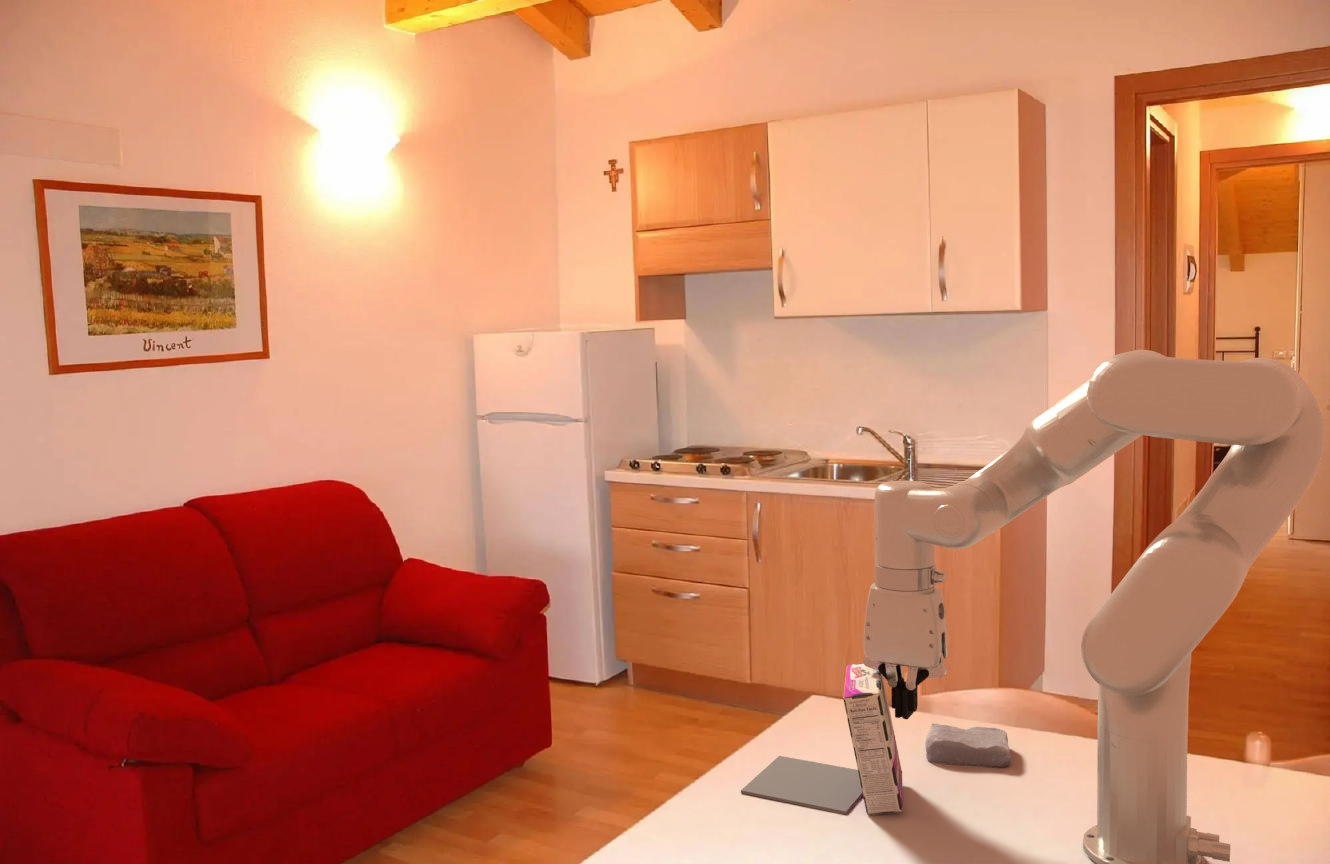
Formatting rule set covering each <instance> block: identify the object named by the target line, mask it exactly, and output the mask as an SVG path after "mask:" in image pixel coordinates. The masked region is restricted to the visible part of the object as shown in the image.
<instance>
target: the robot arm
mask: <svg viewBox="0 0 1330 864" xmlns="http://www.w3.org/2000/svg"><path fill="white" fill-rule="evenodd" d="M1141 436H1145V437H1146V436H1149V437H1153V438H1162V439H1170V440H1171V439H1173V440H1183V441H1193V442H1201V443H1211V444H1220V445H1229V446H1230V448H1229V450H1228V452H1227V453H1226V455H1225V456H1224V457H1223V459H1222V461H1221V462H1220V464H1218V466H1217V467H1216V469H1215V470H1214V471H1213V472H1212V474H1211V475H1209V477H1208V480H1207V481H1206V482H1205V484H1204V486H1202V488H1201V489H1200V490H1199V492H1198V493H1197V494H1196V495H1195V497H1194V498H1193V499H1192V501H1191V502H1190V503H1189V505H1188V506H1187V507H1186V508H1185V509H1184V510H1183V511H1182V513H1180V515H1179V516H1178V517H1177V518H1176V519H1175V520H1174V521H1173V522H1172V523H1170V524H1169V525H1167V527H1165V528H1164V529H1163V530H1162V531H1161V532H1160V533H1158V535H1157V536H1155V538H1154V539H1153V540H1152V541H1151V542H1150V543H1149V544H1148V546H1147V547H1146V548H1145V550H1144V551H1143V552H1142V553H1141V555H1140V556H1139V557H1138V558H1137V560H1136V562H1134V564H1133V565H1132V567H1131V568H1130V569H1129V570H1128V572H1127V573H1126V574H1125V576H1124V577H1123V578H1122V579H1121V581H1120V582H1119V583H1118V584H1117V586H1116V587H1115V588H1114V590H1113V591H1112V592H1111V593H1110V595H1109V596H1108V598H1107V599H1106V600H1105V602H1104V603H1103V604H1102V606H1100V608H1099V609H1098V611H1097V612H1096V613H1095V614H1094V615H1093V617H1092V618H1091V619H1090V620H1089V622H1088V623H1087V624H1086V627H1085V629H1084V631H1083V635H1082V637H1081V644H1080V651H1081V658H1082V661H1083V664H1084V667H1085V669H1086V670H1087V673H1088V674H1089V675H1090V677H1091V679H1093V681H1095V682H1096V683H1097V685H1098V691H1097V693H1098V695H1097V771H1096V772H1097V777H1096V779H1097V782H1096V783H1097V789H1096V790H1097V799H1096V800H1097V803H1096V804H1097V807H1096V808H1097V811H1096V812H1097V813H1096V816H1097V817H1096V818H1097V819H1096V820H1097V821H1096V823H1097V825H1093V826H1092V827H1090V828H1089V829H1087V830H1086V831H1085V833H1084V834H1083V837H1082V846H1083V847H1082V848H1083V851H1084V853H1085V854H1086V855H1087V857H1088V858H1089V859H1091V860H1092V862H1094V863H1095V864H1202V857H1206V858H1212V860H1216V861H1217V860H1218V861H1221V862H1222V861H1223V862H1227V863H1230V862H1231V843H1226V842H1222V841H1221V842H1220V834H1216V833H1211V832H1202V831H1197V828H1194V827H1192V816H1190V815H1187V807H1188V806H1187V801H1188V732H1189V693H1190V676H1191V665H1192V664H1191V663H1192V654H1193V653H1192V652H1193V651H1194V650H1195V649H1196V647H1198V645H1199V644H1200V643H1201V642H1202V640H1203V639H1204V637H1205V638H1206V635H1207V634H1208V633H1209V632H1210V631H1211V630H1212V629H1213V627H1214V626H1215V625H1216V624H1217V622H1219V620H1220V619H1221V617H1222V616H1223V615H1224V613H1226V611H1227V610H1228V609H1229V607H1230V606H1231V604H1232V603H1233V601H1234V600H1235V599H1236V597H1237V596H1238V593H1239V592H1240V590H1241V589H1242V586H1243V584H1244V582H1245V579H1246V577H1247V575H1248V573H1249V570H1250V569H1251V567H1252V566H1253V564H1254V562H1255V561H1256V560H1257V558H1258V557H1259V556H1260V555H1261V553H1262V552H1263V551H1264V549H1265V548H1266V547H1267V546H1268V544H1269V543H1270V542H1271V540H1273V538H1274V537H1275V535H1277V533H1279V530H1280V529H1281V527H1283V525H1284V523H1286V520H1288V518H1289V517H1290V516H1291V514H1292V513H1293V512H1294V510H1295V509H1296V508H1297V506H1299V504H1300V502H1301V501H1302V500H1303V498H1304V496H1306V493H1307V492H1308V490H1309V489H1310V487H1311V485H1312V484H1313V482H1314V479H1315V478H1316V475H1317V473H1318V470H1319V469H1320V468H1319V467H1320V465H1321V462H1322V457H1323V454H1324V453H1323V452H1324V447H1325V446H1324V445H1325V444H1324V443H1325V427H1324V421H1323V416H1322V413H1321V409H1320V407H1319V404H1318V402H1317V399H1316V398H1315V395H1314V394H1313V391H1312V390H1311V388H1310V387H1309V385H1308V383H1307V382H1306V381H1305V379H1304V378H1303V376H1302V375H1300V373H1299V372H1297V371H1296V370H1295V368H1294V367H1292V366H1290V365H1288V364H1287V363H1286V362H1283V361H1281V360H1278V359H1274V358H1270V357H1254V358H1248V359H1244V360H1242V361H1238V360H1235V361H1233V360H1220V359H1216V360H1215V359H1214V360H1213V359H1201V358H1199V359H1198V358H1184V357H1183V358H1182V357H1171V356H1165V355H1164V354H1162V353H1159V352H1157V351H1154V350H1148V349H1136V350H1130V351H1126V352H1122V353H1118V354H1115V355H1113V356H1110V357H1109V358H1107V359H1106V360H1104V361H1103V362H1102V363H1101V364H1100V365H1099V366H1098V367H1097V368H1096V369H1095V371H1093V372H1092V375H1091V377H1090V378H1089V379H1087V380H1086V381H1084V382H1083V384H1081V385H1080V386H1078V387H1077V388H1076V389H1074V390H1073V391H1072V392H1070V393H1069V394H1068V395H1066V396H1064V397H1063V398H1062V399H1061V400H1059V401H1058V402H1057V403H1054V404H1053V405H1051V407H1049V408H1048V409H1046V410H1045V411H1043V412H1042V413H1040V415H1038V416H1036V417H1034V419H1033V420H1032V421H1030V423H1029V424H1028V425H1027V426H1026V428H1025V430H1024V431H1023V434H1022V436H1021V437H1020V438H1019V439H1018V440H1017V441H1016V442H1015V443H1014V444H1013V445H1012V446H1011V447H1010V448H1009V449H1007V450H1006V451H1005V452H1003V453H1002V454H1001V455H999V456H998V457H997V458H995V459H994V460H992V461H991V462H990V463H988V464H987V465H985V466H984V467H983V468H981V469H980V470H978V471H977V472H975V473H974V474H973V475H971V476H970V477H968V478H967V479H965V480H963V481H960V482H958V483H955V484H953V485H951V486H948V487H944V488H939V489H933V488H932V486H930V484H928V483H925V482H923V481H918V480H916V481H915V480H892V481H891V480H890V481H885V482H883V483H881V484H879V485H878V486H877V487H876V489H875V490H874V582H873V583H872V584H871V585H870V587H869V591H868V594H867V595H868V596H867V601H866V606H865V607H866V608H865V616H864V624H863V654H864V658H863V663H864V665H865V666H867V667H869V668H872V669H874V670H878V671H879V672H880V673H881V674H882V675H883V678H884V679H885V680H886V681H887V684H888V686H889V687H890V688H891V708H892V709H894V718H896V719H901V718H902V719H903V720H908V719H909V718H911V716H912V715H913V714H914V713H916V711H918V706H919V705H918V699H919V698H918V691H919V690H918V689H919V688H918V687H919V686H920V684H922V683H923V682H924V681H925V680H926V679H937V678H943V677H944V676H945V675H946V674H947V672H948V669H947V666H946V661H945V659H946V658H947V657H948V646H949V642H948V629H947V626H948V625H947V619H946V618H947V617H946V616H947V615H946V609H945V608H946V607H945V602H944V597H943V596H944V595H943V592H942V588H941V587H939V586H935V585H936V584H939V583H942V584H944V583H945V582H946V581H947V580H946V579H947V576H946V575H947V574H946V572H945V571H940V570H938V569H937V564H935V546H937V547H938V546H939V547H940V548H941V547H942V548H945V549H946V548H947V549H952V550H961V549H967V548H970V547H972V546H974V545H976V544H978V543H979V542H981V541H982V540H984V539H985V538H986V537H988V536H990V535H992V534H994V533H996V532H997V531H999V530H1000V529H1002V528H1003V527H1004V526H1006V525H1008V524H1009V523H1011V522H1012V521H1013V520H1014V519H1016V518H1018V517H1019V516H1020V515H1022V514H1023V513H1024V512H1026V511H1028V510H1029V509H1030V508H1032V507H1033V506H1035V505H1036V504H1037V503H1039V502H1041V501H1042V500H1043V499H1045V498H1047V497H1049V495H1051V494H1053V493H1054V492H1055V491H1057V490H1059V489H1061V488H1064V487H1065V486H1068V485H1071V484H1073V483H1074V482H1076V481H1077V480H1078V479H1080V478H1082V477H1083V476H1084V475H1086V474H1088V473H1089V472H1090V471H1091V470H1093V469H1094V468H1096V467H1097V466H1099V465H1101V464H1102V463H1104V462H1105V461H1106V460H1108V459H1109V458H1111V457H1112V456H1114V455H1116V454H1117V452H1119V451H1121V450H1123V448H1125V447H1127V446H1128V445H1129V444H1132V443H1133V442H1134V441H1137V439H1139V438H1140V437H1141ZM903 667H908V668H907V675H906V681H905V678H904V675H903V674H904V671H903Z"/></svg>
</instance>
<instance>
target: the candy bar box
mask: <svg viewBox="0 0 1330 864" xmlns="http://www.w3.org/2000/svg"><path fill="white" fill-rule="evenodd" d="M845 667H846V668H845V677H844V687H843V695H842V698H843V704H844V708H845V714H846V718H847V719H846V720H847V723H848V724H847V725H848V728H849V732H850V737H851V743H852V747H853V753H854V757H855V762H856V767H857V770H858V773H859V778H860V783H861V788H862V793H863V795H862V797H863V802H864V808H865V813H866V815H870V816H872V815H873V816H876V815H885V814H894V813H903V810H904V809H903V807H904V806H903V805H904V804H903V802H904V801H903V770H902V765H901V761H900V755H899V750H898V745H897V741H896V735H895V731H894V725H893V720H892V716H891V710H890V706H889V705H890V704H889V699H888V695H887V691H886V685H885V678H884V676H883V675H882V674H881V673H880V672H879V671H878V670H874V669H872V668H869V667H867V666H865V665H864V662H861V663H853V664H848V665H846V666H845Z"/></svg>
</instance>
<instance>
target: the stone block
mask: <svg viewBox="0 0 1330 864" xmlns="http://www.w3.org/2000/svg"><path fill="white" fill-rule="evenodd" d="M925 753H926V760H927V762H928V763H932V764H940V765H942V764H943V765H954V766H955V765H957V766H966V767H967V766H971V767H983V768H995V769H996V768H997V769H998V768H1009V767H1010V765H1011V764H1012V759H1011V749H1010V746H1009V738H1008V734H1007V732H1006V730H1003V729H1000V728H997V727H984V726H974V727H969V728H967V729H965V728H961V727H957V726H953V725H948V724H940V723H933V722H932V723H931V725H930V728H929V730H928V732H927V733H926V738H925Z"/></svg>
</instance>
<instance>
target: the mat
mask: <svg viewBox="0 0 1330 864" xmlns="http://www.w3.org/2000/svg"><path fill="white" fill-rule="evenodd" d="M740 794H743V795H749V796H753V797H759V798H763V799H768V800H771V801H772V800H773V801H778V802H784V803H788V804H791V805H792V804H793V805H797V804H798V806H803V807H808V808H811V809H818V810H822V811H827V812H833V813H837V814H841V815H847V814H848V813H849V812H850V810H851V809H852V808H853V807H854V806H855V805H856V803H857V802H858V801H859V800H860V799H861V798H862V797H863V793H862V788H861V783H860V778H859V773H858V769H856V768H850V767H844V766H839V765H833V764H828V763H827V764H826V763H823V762H822V763H821V762H816V761H811V760H806V759H805V760H804V759H799V758H793V757H788V756H783V755H778V756H777V757H776V758H775V759H774V760H773V761H771V762H770V764H768V765H767V766H766V767H765V768H764V769H763V770H761V771H760V772H759V773H758V774H757V775H756V776H754V778H753V779H752V780H751V781H749V782H748V783H747V784H746V785H744V787H743V788H741V789H740Z"/></svg>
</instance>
